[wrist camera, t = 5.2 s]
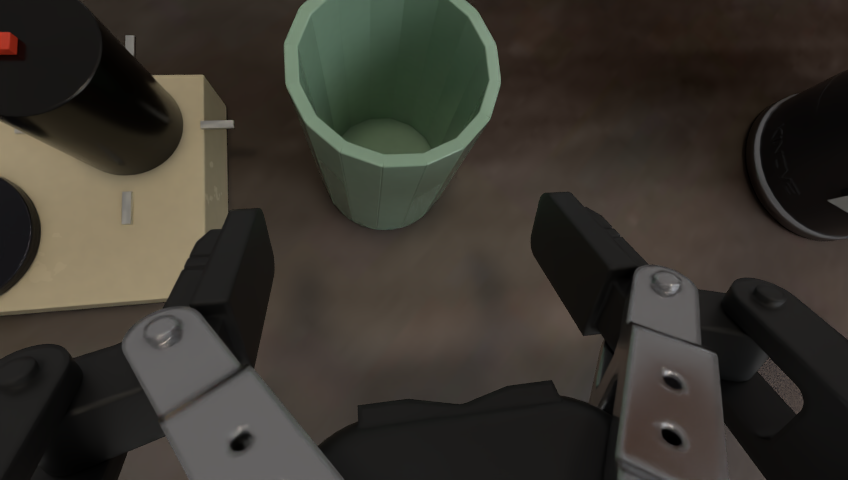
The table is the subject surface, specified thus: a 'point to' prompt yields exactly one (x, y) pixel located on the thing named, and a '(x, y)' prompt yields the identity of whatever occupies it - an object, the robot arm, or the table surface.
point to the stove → (119, 211)
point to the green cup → (390, 99)
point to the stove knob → (82, 89)
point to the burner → (16, 234)
